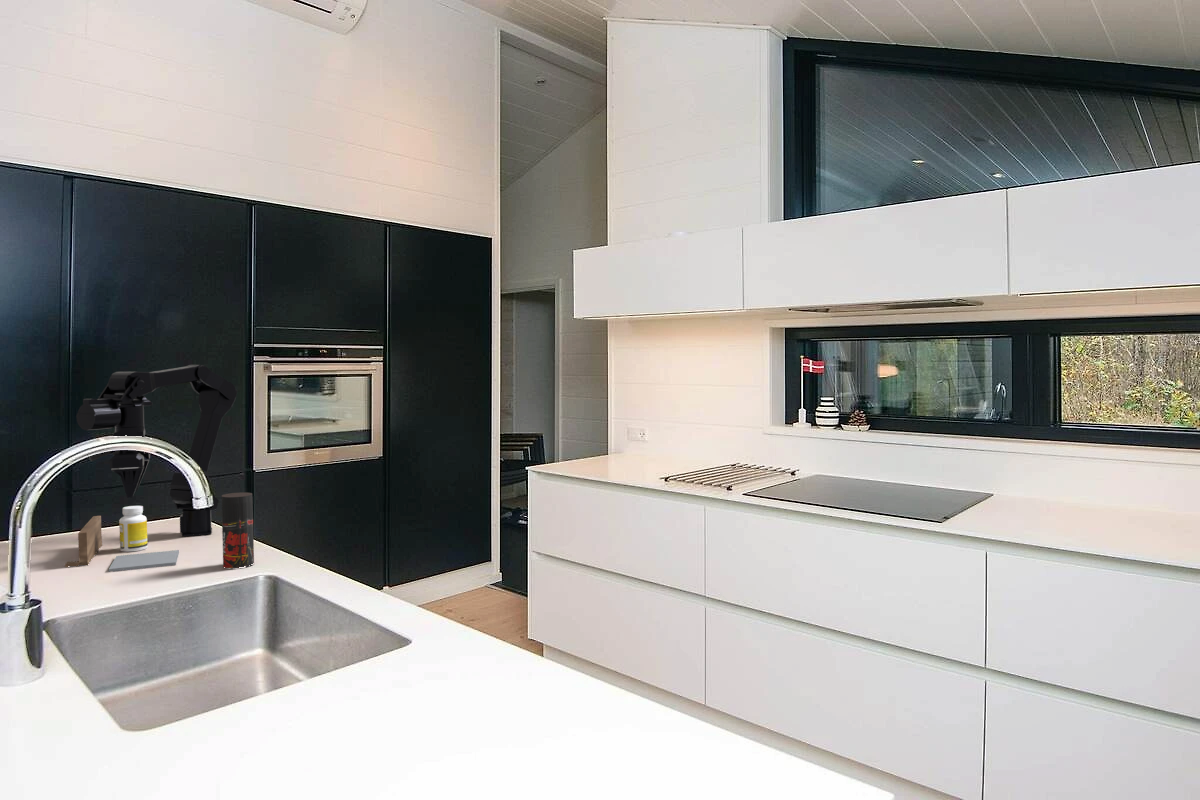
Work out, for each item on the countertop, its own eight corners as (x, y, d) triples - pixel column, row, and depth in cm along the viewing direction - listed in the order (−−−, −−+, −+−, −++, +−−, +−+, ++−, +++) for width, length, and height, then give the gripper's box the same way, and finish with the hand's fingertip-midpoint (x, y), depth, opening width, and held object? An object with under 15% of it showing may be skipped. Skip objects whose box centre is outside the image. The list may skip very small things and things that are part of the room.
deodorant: (216, 566, 160) (215, 495, 159) (241, 560, 165) (240, 491, 165) (235, 570, 157) (233, 498, 157) (260, 563, 163) (258, 493, 162)
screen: (102, 545, 179) (101, 515, 179) (88, 565, 161) (86, 532, 161) (81, 546, 178) (80, 517, 177) (65, 567, 160) (64, 534, 159)
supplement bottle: (153, 546, 178) (151, 505, 177) (136, 552, 172) (135, 509, 172) (131, 546, 178) (130, 504, 178) (114, 552, 173) (112, 509, 172)
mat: (179, 552, 172) (179, 549, 172) (175, 565, 161) (175, 562, 161) (116, 558, 167) (116, 555, 167) (108, 571, 156) (108, 569, 156)
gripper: (94, 425, 179) (96, 491, 180) (80, 431, 162) (83, 504, 163) (149, 423, 184) (151, 487, 184) (141, 429, 167) (143, 500, 168)
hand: (132, 494), depth 175 cm, fingers open, 9 cm apart
